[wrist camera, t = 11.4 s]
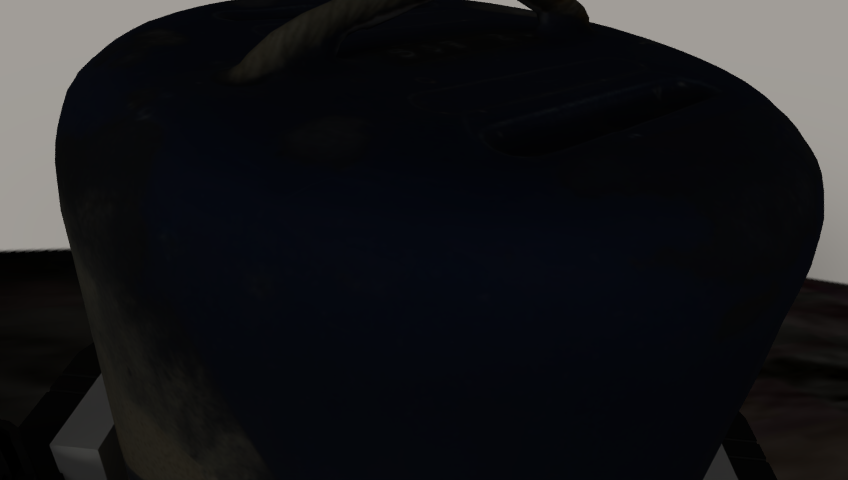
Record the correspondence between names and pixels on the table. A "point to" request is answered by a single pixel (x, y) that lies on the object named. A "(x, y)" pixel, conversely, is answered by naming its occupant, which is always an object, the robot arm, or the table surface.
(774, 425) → the table surface
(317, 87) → the canister
